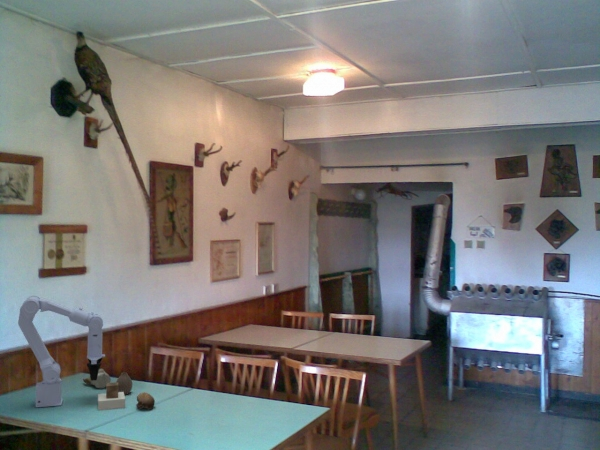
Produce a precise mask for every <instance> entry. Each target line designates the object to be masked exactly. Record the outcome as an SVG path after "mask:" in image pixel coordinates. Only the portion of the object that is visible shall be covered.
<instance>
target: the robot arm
mask: <svg viewBox="0 0 600 450" xmlns="http://www.w3.org/2000/svg"><path fill="white" fill-rule="evenodd" d="M39 310H40V313H44V312H47V311H48V312H52V313H55V314H58V315H62V316H64V317H65V316H66V317H68V320H69V321H70V322H72V323H75V324H78V325H81V326H83V327H88V333H87V352H86V353H87V355H86V358H87V361H88V362H86V367H87V369H88V372H89V377H90V378H91V380H97V376H98V371H99V368H100V367H101V365H102V360H103V358H105V357H106V354H105V353H104V354H103V326H104V319H103V317H102V316H101V315H99V314H97V313H94V312H89V311H86V310H84V309H83V307H79V308H78V307H74V308H72V309H71V308H69V307H66V306H64V305H61V304H59V303H57V302H55V301H52V300H50V299H47V298H43V297H39V296H37V295H31V296H28V297H27V298H26V299H25V301H23V303H22V305H21V306H20V309H19V316H18V321H17V324H18V327H19V329H20V330H21V332H22V334H23V336H24V338H25V340H26V341H27V343H28V345H29V348H30V349H31V351H32V353H33V355H34V356H35V358H36V360H37V362H38V363H39V368H40V370H41V374H42V381H40V382H36V384H35V385H36V386H35V398H34V399H35V400H34V401H35V408H46V407H47V408H48V407H57V406H59V407H60V406H62V404H63V400H64V398H62V378H61V377H60V376H61V375H60V374H61V373H62V367H61V365H60V364H59V363H58V362H56V360H55V359H54V357H52V356H51V353H50V351H48V348H47V346H46V345H45V343H44V341H43V340H42V337H41V336H40V333H39V332H38V329H37V328H36V326H35V325H34V322H33V321H34V318H35V316H36V314H38V312H39Z"/></svg>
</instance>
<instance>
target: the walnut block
mask: <svg viewBox="0 0 600 450" xmlns="http://www.w3.org/2000/svg"><path fill="white" fill-rule="evenodd" d="M105 388H106V389H105V390H106V392H105V393H106V399H108V398H118V382H110V383H107V385H106V387H105Z"/></svg>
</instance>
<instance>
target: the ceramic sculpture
mask: <svg viewBox="0 0 600 450" xmlns="http://www.w3.org/2000/svg"><path fill="white" fill-rule="evenodd" d="M111 379H112V378H111V376H110V375H109V374H108V373H107V372H106V371H105V370H104V369H103V368H102V367H101V366H100V368H99V371H98V376H97V380H91V378H90V376H89V377H87V378H82V381H83V382H84V383H85V384H87V385H93V386H95V389H105V388H106V385H107V383H111Z"/></svg>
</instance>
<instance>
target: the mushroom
mask: <svg viewBox="0 0 600 450" xmlns="http://www.w3.org/2000/svg"><path fill="white" fill-rule="evenodd" d="M136 401H137V403H136V404H135V406H136V408H137V409H143V408H144V409H147V410H152V409H153V408H154V406H155V398H154V397H153V396H152V395H151V394H150V393H148V392H141V393H139V394H138V395H136Z"/></svg>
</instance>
